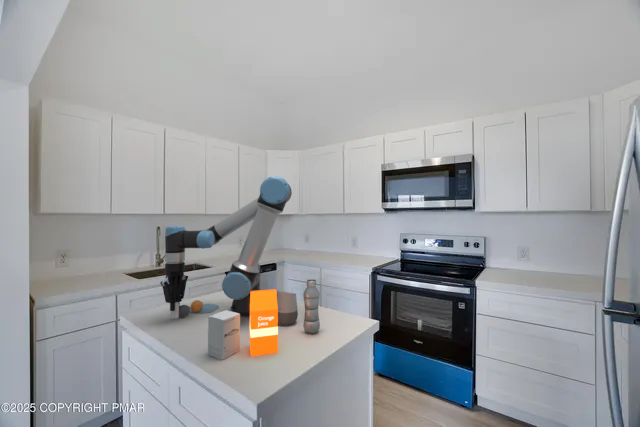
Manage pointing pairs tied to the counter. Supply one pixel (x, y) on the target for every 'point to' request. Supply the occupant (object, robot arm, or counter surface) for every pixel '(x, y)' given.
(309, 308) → the plastic bottle
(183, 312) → the dark grey ball
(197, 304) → the object ball
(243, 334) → the counter surface
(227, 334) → the supplement box
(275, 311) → the orange juice
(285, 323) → the smart speaker
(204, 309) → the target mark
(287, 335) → the counter surface
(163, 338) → the counter surface
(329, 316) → the counter surface
